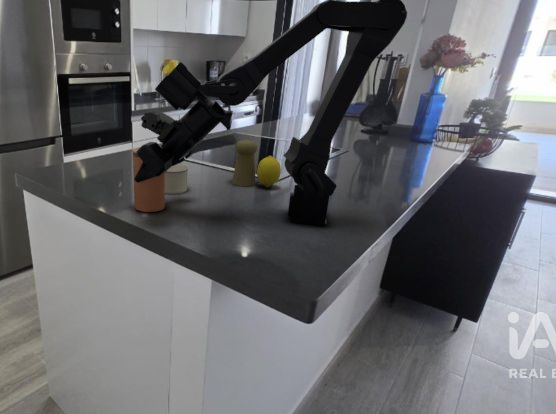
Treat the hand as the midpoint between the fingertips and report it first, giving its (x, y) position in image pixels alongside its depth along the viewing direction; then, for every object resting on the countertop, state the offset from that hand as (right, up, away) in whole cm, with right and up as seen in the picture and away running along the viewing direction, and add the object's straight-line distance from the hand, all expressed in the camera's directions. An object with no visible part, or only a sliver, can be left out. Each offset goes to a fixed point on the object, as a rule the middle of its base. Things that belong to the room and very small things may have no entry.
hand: (143, 176), depth 81 cm
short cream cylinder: (+7, -2, +14) cm, 16 cm away
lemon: (+31, -2, +14) cm, 34 cm away
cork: (+26, 0, +18) cm, 32 cm away
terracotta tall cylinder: (+1, -6, +2) cm, 7 cm away
